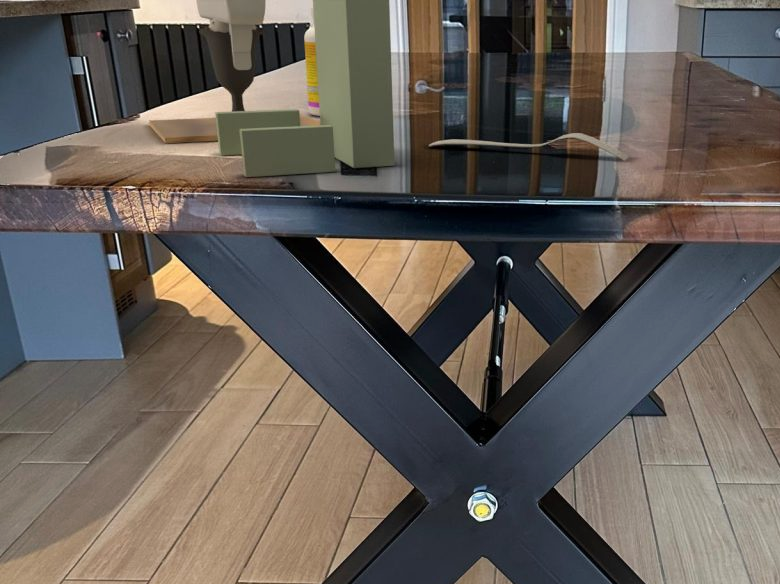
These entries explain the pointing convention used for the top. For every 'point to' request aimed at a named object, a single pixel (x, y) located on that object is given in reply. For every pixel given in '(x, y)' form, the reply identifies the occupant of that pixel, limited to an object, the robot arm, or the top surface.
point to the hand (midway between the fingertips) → (233, 66)
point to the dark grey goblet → (229, 61)
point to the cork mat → (197, 129)
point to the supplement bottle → (311, 69)
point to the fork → (572, 135)
